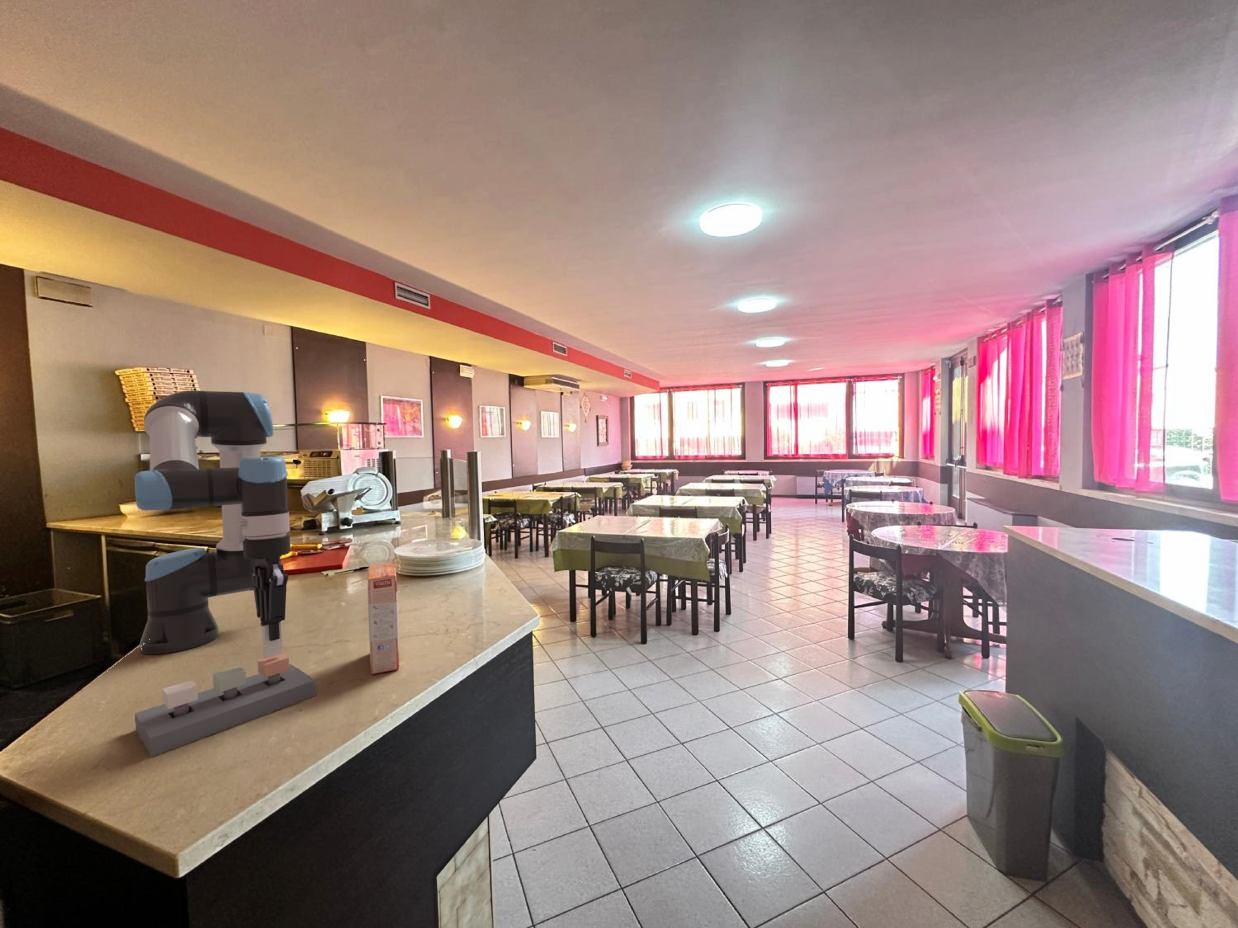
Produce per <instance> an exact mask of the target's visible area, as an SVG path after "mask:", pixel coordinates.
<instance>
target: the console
mask: <svg viewBox="0 0 1238 928" xmlns="http://www.w3.org/2000/svg"><path fill="white" fill-rule="evenodd" d="M314 696H317V682H316V679H315V678H313V677H311V676H310V675H309V674H307V673H306V672H304V671H302V670H301V669H300V668H298V667H296V666H295V665H293V664H291V663H289V670H287V671H284V672H281V673H280V682H279V683H276V684H273V685H270V686H268V677H266V678H265V677H264V676H263V675H261V674H260V673H257V674H254V675H251V676H246V684H244V685H241V686H238V687H237V697H235V698H232V699H229V700H226V701H224V693H223V692H219V691H218V690H217V689H216V688H215V687H213V688H210V689H207V690H204V691H200V692H198V700H195V701H192V702H189V713H187V714H184V715H181V716H178V717H175V718H174V710H173V708H171V709H168V708H167V707H166V706H165V704H164V703H162V704H159V705H156V706H153V707H149V708H147V709H144V710H141V711H137V712H134V721H135V731H136V733H137V735H138V736H139V738H140V740H141V741H142V742H143V744H144V746H145V748H146V750H147V752H148V754H149V755H150V757H155V756H158V755H160V754H163V753H165V752H168V751H170V750H173V749H176V748H179V747H181V746H184V745H187V744H189V743H192V742H195V741H197V740H201V739H203V738H205V737H207V736H208V737H209V736H211V735H213V734H215V733H216V734H217V733H219V732H222V731H224V730H226V729H231V728H232V727H234V726H237V725H240V724H243V723H245V722H249V721H252V720H253V719H257V718H259V717H262V716H265V715H267V714H270V713H273V712H275V711H277V710H279V709H280V710H281V709H282V708H283V709H284V708H286V707H288V706H290V705H293V704H297V703H299V702H302V701H304V700H306V699H309V698H312V697H314Z"/></svg>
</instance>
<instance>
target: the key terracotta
mask: <svg viewBox="0 0 1238 928" xmlns="http://www.w3.org/2000/svg"><path fill="white" fill-rule="evenodd" d="M289 659H290V658H289V657H287V656H286V655H285V654H284V653H282V654H280V655H276V656H273V657H270V658H265V657H263V658H260V659H257V672H258V674H261V675H263V676H264V677H265V678H266V677H268V686H270V685H273V684H276V683H279V682H280V673H281V672H284V671H287V670H289V664H290V663H289V661H290V660H289Z"/></svg>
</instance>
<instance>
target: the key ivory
mask: <svg viewBox="0 0 1238 928" xmlns="http://www.w3.org/2000/svg"><path fill="white" fill-rule="evenodd" d="M161 691H162V693H161V695H162V704H165V706H166V707H167V708H168V709H171V708H173V710H174V718H175V717H178V716H181V715H184V714H187V713H189V702H192V701H195V700H198V693H199V686H198V685H197V684H196V683H195V681H194V680H192V679H190V680H187V681H184V682H181V683H177V684H173V685H171V686H166V687H163V688H161Z"/></svg>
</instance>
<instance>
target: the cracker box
mask: <svg viewBox="0 0 1238 928" xmlns="http://www.w3.org/2000/svg"><path fill="white" fill-rule="evenodd" d="M395 564H396V563H385V564H378V565H371V566H368V575H367V601H368V603H367V605H368V607H367V608H368V632H369V633H368V635H369V656H370V657H369V663H370V674H371V675H377V674H381V673H386V672H393V671H397V670H399V669H400V651H399V650H400V647H399V646H400V645H399V644H400V642H399V610H398V606H399V605H398V583H397V582H398V580H397V572H396V565H395Z"/></svg>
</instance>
